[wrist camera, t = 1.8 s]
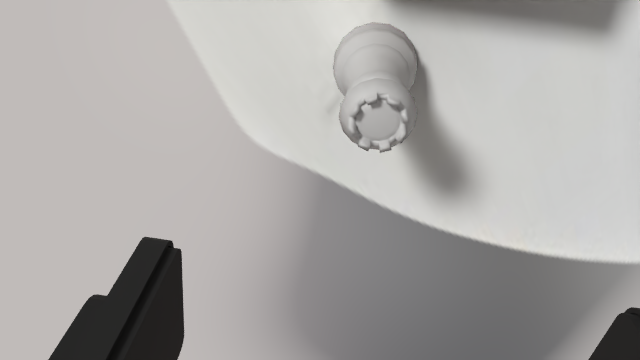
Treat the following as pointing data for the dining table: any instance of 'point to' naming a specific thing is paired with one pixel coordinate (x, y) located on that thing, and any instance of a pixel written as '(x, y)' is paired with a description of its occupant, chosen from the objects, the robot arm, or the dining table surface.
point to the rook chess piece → (376, 85)
